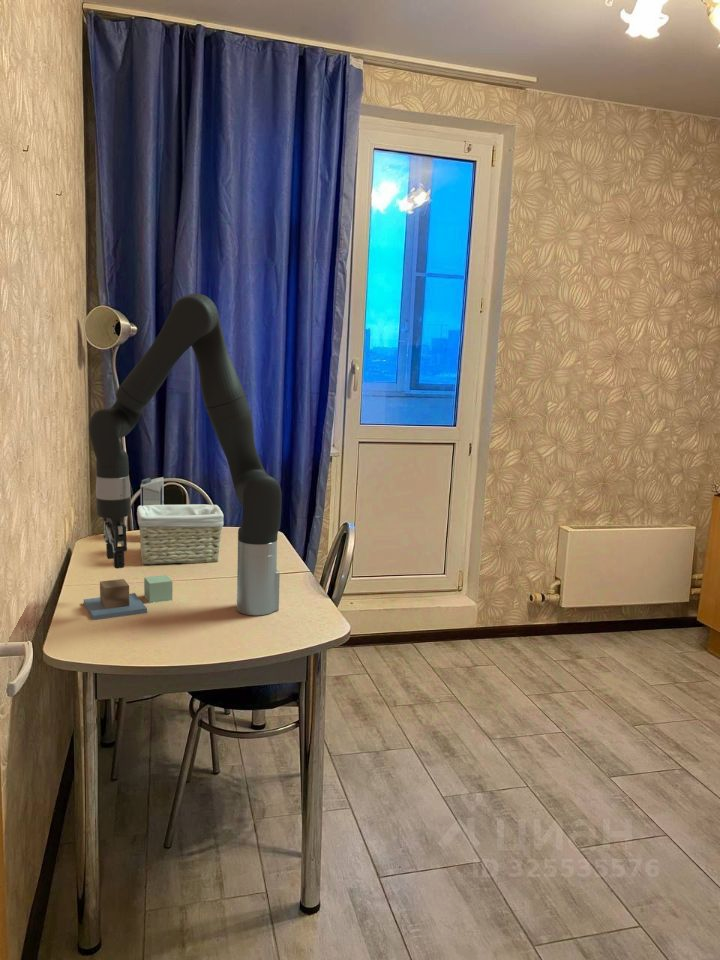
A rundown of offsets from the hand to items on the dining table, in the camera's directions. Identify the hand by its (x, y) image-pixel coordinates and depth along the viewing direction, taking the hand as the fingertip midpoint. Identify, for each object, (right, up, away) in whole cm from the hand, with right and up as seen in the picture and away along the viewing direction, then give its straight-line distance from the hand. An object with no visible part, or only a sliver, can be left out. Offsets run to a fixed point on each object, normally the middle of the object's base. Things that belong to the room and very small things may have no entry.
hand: (115, 563), depth 173 cm
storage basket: (+4, -4, +45) cm, 45 cm away
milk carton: (-9, 0, +64) cm, 64 cm away
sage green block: (+7, -10, +9) cm, 16 cm away
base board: (-1, -11, +1) cm, 11 cm away
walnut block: (-1, -10, +1) cm, 10 cm away
